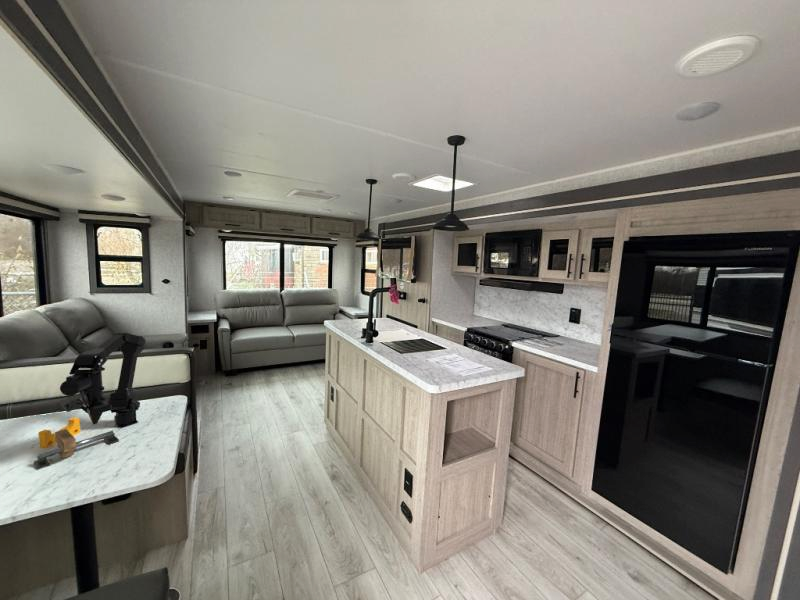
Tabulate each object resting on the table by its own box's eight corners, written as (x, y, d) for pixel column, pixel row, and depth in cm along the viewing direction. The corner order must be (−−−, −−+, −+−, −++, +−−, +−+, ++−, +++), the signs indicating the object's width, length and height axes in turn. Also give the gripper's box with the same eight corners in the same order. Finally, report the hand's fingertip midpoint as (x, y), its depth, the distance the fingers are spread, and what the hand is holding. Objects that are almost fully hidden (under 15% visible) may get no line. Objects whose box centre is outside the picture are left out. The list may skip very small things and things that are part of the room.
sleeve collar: (67, 446, 123) (66, 428, 122) (77, 457, 116) (75, 438, 115) (56, 450, 120) (54, 432, 119) (65, 461, 114) (63, 442, 113)
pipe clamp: (71, 431, 135) (70, 417, 134) (80, 432, 134) (79, 418, 134) (35, 447, 123) (34, 431, 122) (45, 448, 122) (44, 432, 122)
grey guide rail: (113, 436, 132) (113, 427, 131) (119, 441, 129) (118, 431, 128) (33, 463, 113) (32, 452, 113) (37, 469, 110) (36, 458, 110)
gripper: (55, 386, 121) (58, 425, 122) (69, 398, 111) (72, 441, 112) (94, 377, 130) (97, 414, 132) (111, 388, 120) (113, 428, 122)
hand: (94, 424), depth 124 cm, fingers closed
